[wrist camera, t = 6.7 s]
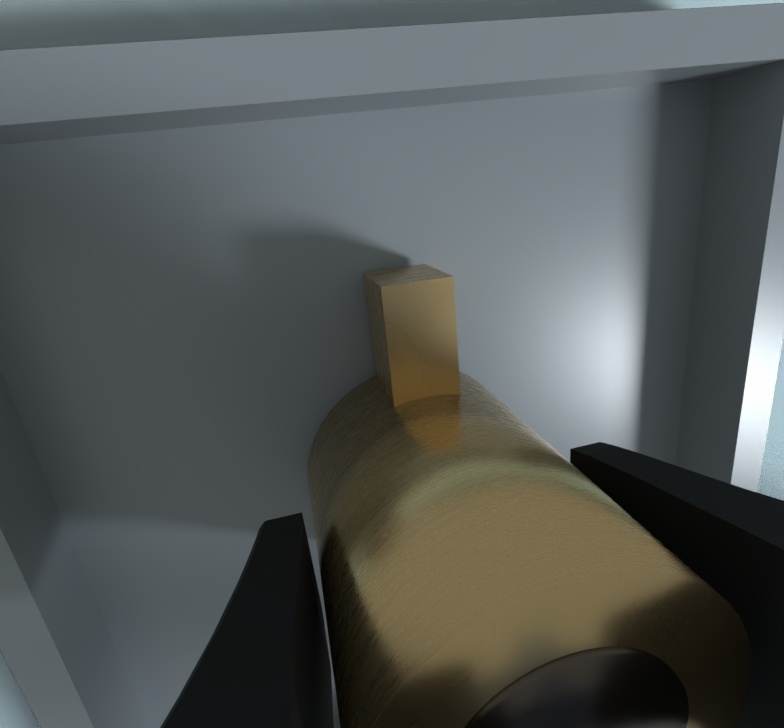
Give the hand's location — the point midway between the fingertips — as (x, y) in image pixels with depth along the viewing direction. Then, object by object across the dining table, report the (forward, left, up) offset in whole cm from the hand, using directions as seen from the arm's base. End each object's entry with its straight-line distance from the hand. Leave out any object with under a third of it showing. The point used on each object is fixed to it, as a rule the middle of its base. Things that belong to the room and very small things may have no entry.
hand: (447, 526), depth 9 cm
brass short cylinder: (0, 0, -2) cm, 2 cm away
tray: (0, 0, -3) cm, 3 cm away
